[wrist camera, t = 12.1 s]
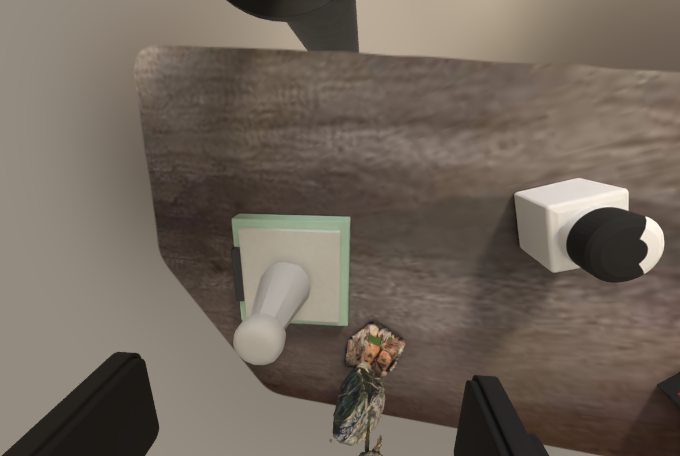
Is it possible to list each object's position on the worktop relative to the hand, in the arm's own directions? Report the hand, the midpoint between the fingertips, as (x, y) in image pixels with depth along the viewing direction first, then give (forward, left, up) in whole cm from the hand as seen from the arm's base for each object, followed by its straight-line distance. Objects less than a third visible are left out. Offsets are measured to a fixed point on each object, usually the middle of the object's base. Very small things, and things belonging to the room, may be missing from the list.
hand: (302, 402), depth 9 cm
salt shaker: (+10, -7, -27) cm, 30 cm away
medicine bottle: (+2, +23, -30) cm, 38 cm away
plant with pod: (+23, +3, -30) cm, 38 cm away
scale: (+10, -7, -30) cm, 32 cm away
